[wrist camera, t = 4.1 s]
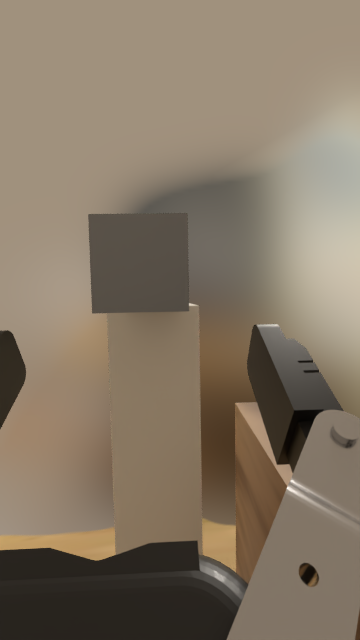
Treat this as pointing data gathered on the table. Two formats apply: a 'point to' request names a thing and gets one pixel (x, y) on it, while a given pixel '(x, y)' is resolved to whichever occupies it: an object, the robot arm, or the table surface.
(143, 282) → the grey block
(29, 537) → the table surface
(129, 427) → the tall stand
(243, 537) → the brown wooden block
